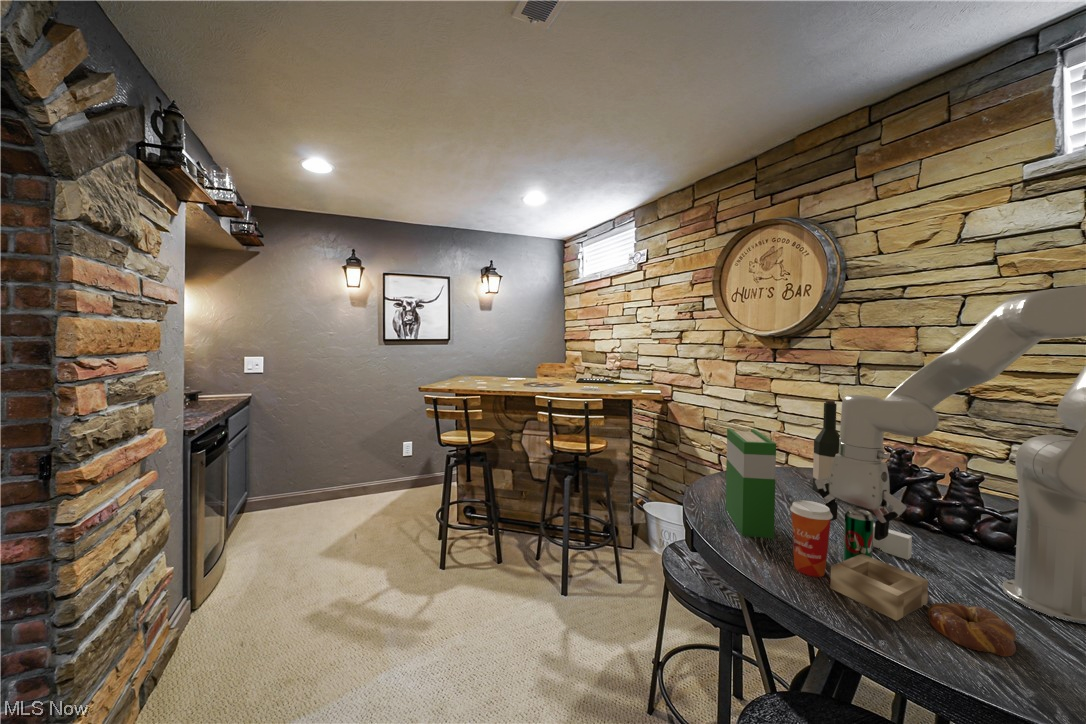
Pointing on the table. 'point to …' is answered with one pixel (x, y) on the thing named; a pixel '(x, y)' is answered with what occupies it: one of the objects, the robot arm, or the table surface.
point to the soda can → (858, 533)
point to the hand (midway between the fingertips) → (854, 528)
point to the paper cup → (810, 536)
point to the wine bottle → (826, 445)
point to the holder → (879, 586)
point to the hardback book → (751, 482)
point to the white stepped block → (895, 544)
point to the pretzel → (973, 628)
